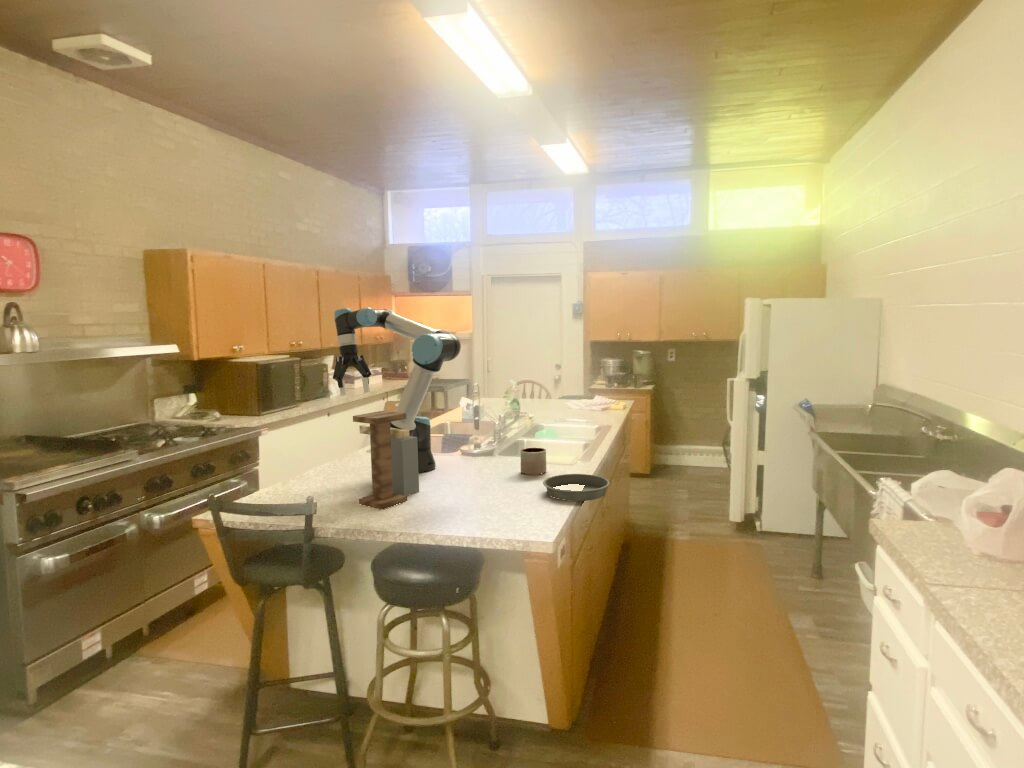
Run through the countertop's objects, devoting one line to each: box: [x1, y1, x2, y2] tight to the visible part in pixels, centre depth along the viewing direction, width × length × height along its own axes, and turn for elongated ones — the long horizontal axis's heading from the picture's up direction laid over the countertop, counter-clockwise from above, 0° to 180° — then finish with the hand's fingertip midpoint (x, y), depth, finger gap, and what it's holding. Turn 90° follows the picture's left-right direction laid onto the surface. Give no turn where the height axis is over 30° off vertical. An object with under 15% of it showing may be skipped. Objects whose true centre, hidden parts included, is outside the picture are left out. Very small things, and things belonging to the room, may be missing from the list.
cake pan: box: [542, 473, 611, 502], centre depth 245 cm, size 25×25×4 cm
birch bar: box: [359, 424, 410, 439], centre depth 253 cm, size 24×3×3 cm, turn 55°
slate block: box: [369, 436, 420, 496], centre depth 251 cm, size 17×8×21 cm, turn 54°
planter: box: [520, 446, 547, 475], centre depth 278 cm, size 11×11×10 cm
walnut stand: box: [352, 410, 408, 510], centre depth 235 cm, size 12×14×32 cm
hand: (355, 394), depth 283 cm, fingers open, 13 cm apart
